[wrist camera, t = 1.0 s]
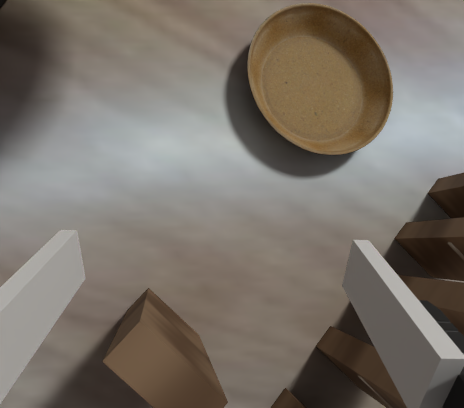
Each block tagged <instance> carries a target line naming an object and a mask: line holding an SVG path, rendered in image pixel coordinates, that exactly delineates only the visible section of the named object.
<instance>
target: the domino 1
mask: <svg viewBox="0 0 464 408" xmlns="http://www.w3.org/2000/svg"><path fill="white" fill-rule="evenodd" d="M102 362H103V363H105V364H106V365H107V366H108V367H109V368H110V369H111V370H112V371H113V372H115V373H116V374H117V375H118V376H119V377H120V378H121V379H122V380H124V381H125V382H126V383H127V384H128V385H129V386H130V387H131V388H132V389H134V390H135V391H136V392H137V393H138V394H139V395H140V396H141V397H142V398H144V399H145V400H146V401H147V402H148V403H149V404H150V405H151V406H152V407H154V408H224V406H225V405H226V404H227V403H228V401H227V399H226V397H225V394H224V392H223V390H222V387H221V385H220V383H219V380H218V378H217V376H216V373H215V371H214V369H213V367H212V364H211V362H210V360H209V357H208V355H207V353H206V350H205V348H204V346H203V343H202V341H201V339H200V337H199V335H198V334H197V333H196V332H195V331H194V330H193V329H192V328H191V327H190V326H189V325H188V324H187V323H186V322H184V321H183V320H182V319H181V318H180V317H179V316H178V315H177V314H176V313H175V312H174V311H173V310H172V309H171V308H169V307H168V306H167V305H166V304H165V303H164V302H163V301H162V300H161V299H160V298H159V297H158V296H157V295H156V294H154V293H153V292H152V291H151V290H150V289H149V288H148V289H147V290H146V291H145V292H144V293H143V294H142V295H141V297H140V298H139V299H138V300H137V301H136V302H135V303H134V304H133V305H132V306H131V307H130V308H129V309H128V311H127V313H126V315H125V317H124V319H123V321H122V323H121V325H120V327H119V329H118V331H117V333H116V335H115V337H114V339H113V341H112V343H111V345H110V347H109V349H108V351H107V353H106V355H105V357H104V359H103V361H102Z"/></svg>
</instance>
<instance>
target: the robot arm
mask: <svg viewBox="0 0 464 408" xmlns="http://www.w3.org/2000/svg"><path fill="white" fill-rule="evenodd" d="M4 2H5V0H0V6H1V5H2V4H3V3H4ZM85 279H86V278H85V273H84V267H83V261H82V256H81V250H80V244H79V239H78V233H77V230H60V231H59V232H58V233H57V234H56V235H55V236H53V237H52V238H51V239H50V240H49V241H48V242H47V243H46V244H45V245H44V246H43V247H42V248H41V249H40V250H39V251H38V252H37V253H36V254H35V255H34V256H33V257H32V258H30V259H29V260H28V261H27V262H26V263H25V264H24V265H23V266H22V267H21V268H20V269H19V270H18V271H17V272H16V273H15V274H14V275H13V276H12V277H11V278H10V279H9V280H8V281H6V282H5V283H4V284H3V285H2V286H1V287H0V404H1V402H2V401H3V399H4V398H5V396H6V395H7V393H8V392H9V390H10V389H11V387H12V386H13V384H14V383H15V382H16V380H17V379H18V377H19V376H20V374H21V373H22V371H23V370H24V368H25V367H26V365H27V364H28V362H29V361H30V359H31V358H32V357H33V355H34V354H35V352H36V351H37V349H38V348H39V346H40V345H41V343H42V342H43V340H44V339H45V337H46V336H47V334H48V333H49V331H50V330H51V329H52V327H53V326H54V324H55V323H56V321H57V320H58V318H59V317H60V315H61V314H62V312H63V311H64V309H65V308H66V306H67V305H68V304H69V302H70V301H71V299H72V298H73V296H74V295H75V293H76V292H77V290H78V289H79V287H80V286H81V284H82V283H83V281H84V280H85ZM342 287H343V288H344V290H345V292H346V294H347V296H348V298H349V300H350V302H351V303H352V305H353V307H354V309H355V311H356V313H357V315H358V317H359V318H360V320H361V322H362V324H363V326H364V328H365V330H366V332H367V334H368V335H369V337H370V339H371V341H372V343H373V345H374V347H375V349H376V350H377V352H378V354H379V356H380V358H381V360H382V362H383V364H384V365H385V367H386V369H387V371H388V373H389V375H390V377H391V379H392V380H393V382H394V384H395V386H396V388H397V390H398V392H399V394H400V395H401V397H402V399H403V401H404V403H405V405H406V407H407V408H464V336H463V335H462V334H461V332H458V329H457V328H456V327H455V326H454V325H453V323H450V320H449V319H448V318H447V317H446V316H445V314H444V313H443V312H442V311H441V310H440V309H438V308H437V307H436V306H434V305H433V304H431V303H430V302H429V301H427V300H418V299H417V298H416V297H415V295H414V294H413V293H412V292H411V291H410V289H409V288H408V287H407V286H406V285H405V283H404V282H403V281H402V280H401V279H400V277H399V276H398V275H397V274H396V273H395V271H394V270H393V269H392V268H391V267H390V265H389V264H388V263H387V262H386V261H385V259H384V258H383V257H382V256H381V255H380V253H379V252H378V251H377V250H376V248H375V247H374V246H373V245H372V244H371V242H370V241H369V240H353V242H352V246H351V250H350V255H349V259H348V263H347V267H346V272H345V276H344V280H343V284H342Z"/></svg>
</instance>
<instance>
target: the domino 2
mask: <svg viewBox="0 0 464 408" xmlns="http://www.w3.org/2000/svg"><path fill="white" fill-rule="evenodd" d="M316 347H317V348H318V349H319V350H320V351H322V352H323V353H324V354H325V355H326V356H327V357H328V358H329V359H330V360H331V361H332V362H333V363H334V364H335V365H336V366H337V367H338V368H339V369H340V370H341V371H342V372H343V373H344V374H345V375H346V376H347V377H348V378H349V379H350V380H351V381H352V382H354V383H355V384H356V385H357V386H358V387H359V388H360V389H361V390H363V391H364V392H366V393H367V394H368V395H370V396H371V397H373V398H374V399H375V400H377V401H378V402H380V403H381V404H382V405H384V406H385V407H386V408H407V407H406V405H405V403H404V401H403V399H402V397H401V395H400V394H399V392H398V390H397V388H396V386H395V384H394V382H393V380H392V379H391V377H390V375H389V373H388V371H387V369H386V367H385V365H384V364H383V362H382V360H381V358H380V356H379V354H378V352H377V350H376V349H375V347H374V346H372V345H369V344H367V343H365V342H363V341H361V340H359V339H357V338H355V337H353V336H350V335H348V334H346V333H344V332H342V331H340V330H338V329H336V328H334V327H331V326H330V327H329V329H328V330H327V332H326V333H325V334H324V336H323V337H322V338H321V340H320V341H319V343H318V344H317V345H316Z"/></svg>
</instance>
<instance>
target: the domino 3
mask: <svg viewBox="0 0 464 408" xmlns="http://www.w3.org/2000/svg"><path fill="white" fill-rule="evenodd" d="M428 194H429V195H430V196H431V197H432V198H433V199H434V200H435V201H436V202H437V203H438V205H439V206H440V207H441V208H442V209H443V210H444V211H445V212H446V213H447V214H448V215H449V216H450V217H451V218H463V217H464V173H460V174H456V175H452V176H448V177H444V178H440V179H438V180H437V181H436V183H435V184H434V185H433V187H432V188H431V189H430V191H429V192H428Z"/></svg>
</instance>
